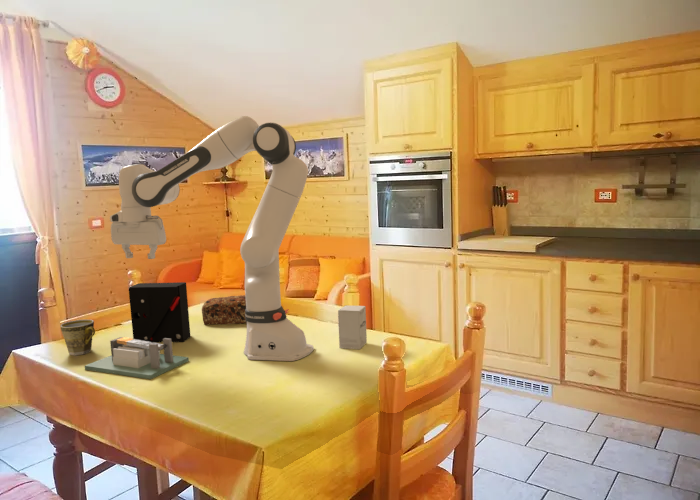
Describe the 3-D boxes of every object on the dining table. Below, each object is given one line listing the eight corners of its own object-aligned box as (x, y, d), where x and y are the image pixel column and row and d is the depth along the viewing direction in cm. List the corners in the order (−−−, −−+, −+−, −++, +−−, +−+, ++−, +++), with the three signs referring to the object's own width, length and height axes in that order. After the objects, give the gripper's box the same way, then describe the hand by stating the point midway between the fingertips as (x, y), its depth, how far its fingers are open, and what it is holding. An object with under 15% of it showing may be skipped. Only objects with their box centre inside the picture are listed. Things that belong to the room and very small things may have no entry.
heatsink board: (188, 361, 166) (186, 334, 165) (150, 379, 152) (147, 350, 151) (126, 353, 177) (123, 328, 176) (84, 369, 162) (82, 342, 161)
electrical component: (192, 335, 195) (188, 281, 192) (181, 343, 185) (176, 286, 182) (146, 335, 197) (141, 282, 194) (132, 344, 187) (127, 287, 184)
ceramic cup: (56, 355, 178) (53, 325, 176) (83, 346, 186) (80, 318, 185) (83, 359, 172) (80, 329, 171) (109, 350, 181) (106, 321, 179)
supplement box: (360, 349, 170) (359, 311, 169) (338, 348, 173) (337, 310, 171) (367, 342, 177) (366, 305, 176) (346, 341, 180) (344, 304, 178)
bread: (255, 317, 218) (253, 293, 217) (249, 324, 207) (247, 299, 206) (210, 318, 219) (208, 294, 218) (201, 325, 208) (199, 300, 207)
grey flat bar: (166, 348, 161) (166, 344, 161) (158, 351, 158) (157, 347, 157) (125, 340, 167) (125, 336, 167) (116, 343, 164) (115, 339, 164)
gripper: (168, 214, 171) (172, 257, 172) (121, 215, 179) (125, 256, 181) (154, 216, 165) (158, 260, 167) (105, 216, 173) (109, 259, 175)
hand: (140, 258), depth 174 cm, fingers open, 8 cm apart
